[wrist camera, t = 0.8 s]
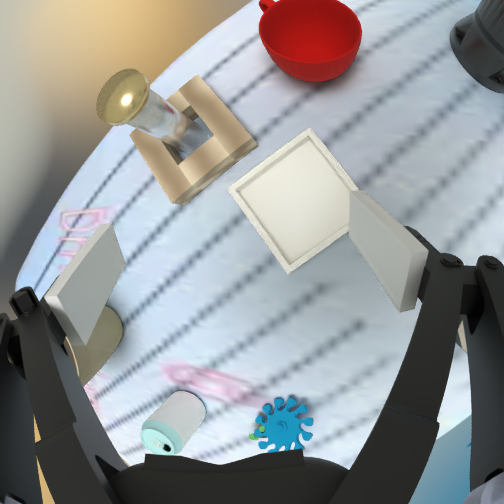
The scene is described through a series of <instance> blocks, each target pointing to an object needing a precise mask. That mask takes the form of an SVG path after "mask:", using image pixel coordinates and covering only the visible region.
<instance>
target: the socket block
mask: <svg viewBox="0 0 504 504" xmlns="http://www.w3.org/2000/svg"><path fill="white" fill-rule="evenodd" d="M166 101H167V102H169V103H170V104H171V105H173V106H174V107H175V108H177V109H178V110H179V111H181V112H182V113H183V114H184V115H186V116H187V117H188V118H190V119H191V120H192V121H193V120H194V119H196V118H197V117H198V116H199V117H200V118H201V119H202V120H203V122H204V123H205V124H206V126H207V127H208V128H209V129H210V131H211V132H212V133H213V134H214V135H213V136H212V137H211V138H210V139H209V140H207V141H206V142H205V143H204V144H202V145H201V146H200V147H199V148H198V149H196V150H195V151H194V152H193V153H192V154H191V155H189V156H188V157H187V158H186V159H185V160H184V161H183V160H182V158H181V157H180V155H179V154H178V152H177V151H176V150H175V148H174V147H173V146H171V145H169V144H167V143H165V142H163V141H161V140H159V139H157V138H155V137H153V136H151V135H149V134H147V133H145V132H143V131H141V130H139V129H137V128H136V129H135V130H134V131H133V132H132V133H131V134H130V137H131V139H132V140H133V142H134V144H135V145H136V147H137V149H138V150H139V152H140V153H141V155H142V157H143V158H144V160H145V162H146V163H147V165H148V166H149V168H150V170H151V171H152V173H153V174H154V176H155V178H156V179H157V181H158V182H159V184H160V185H161V187H162V189H163V190H164V192H165V193H166V195H167V196H168V198H169V200H170V201H171V203H174V204H181V205H185V204H186V203H188V202H189V201H190V200H191V199H192V198H193V197H195V196H196V195H197V194H198V193H199V192H201V191H202V190H203V189H204V188H205V187H207V186H208V185H209V184H210V183H211V182H213V181H214V180H215V179H216V178H218V177H219V176H220V175H221V174H223V173H224V172H225V171H226V170H228V169H229V168H230V167H231V166H233V165H234V164H235V163H237V162H238V161H239V160H240V159H242V158H243V157H244V156H246V155H247V154H248V153H249V152H251V151H252V150H253V149H255V148H256V147H257V146H259V145H258V144H257V143H256V142H255V140H254V139H253V138H252V137H251V135H250V134H249V133H248V132H247V131H246V129H245V128H244V127H243V126H242V125H241V123H240V122H239V121H238V120H237V119H236V117H235V116H234V115H233V114H232V113H231V111H230V110H229V109H228V108H227V107H226V106H225V104H224V103H223V102H222V101H221V100H220V99H219V98H218V96H217V95H216V94H215V93H214V92H213V91H212V90H211V89H210V87H209V86H208V85H207V84H206V83H205V82H204V81H203V80H202V78H201V77H200V76H199V75H198V74H197V75H196V76H195V77H193V78H192V79H191V80H190V81H188V82H187V83H186V84H185V85H184V86H182V87H181V88H180V89H179V90H178V91H176V92H175V93H174V94H173V95H172V96H170V97H169V98H168V99H167V100H166Z"/></svg>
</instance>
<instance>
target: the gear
mask: <svg viewBox="0 0 504 504" xmlns="http://www.w3.org/2000/svg"><path fill="white" fill-rule="evenodd" d="M274 404H275V411H274V413H273V415H271V411H272V406H271V405H265V406H264V407H263V408H262V409H263V411H264V412H265V413H266V415H267V419H268V420H267V422H266V423H265V419H264V417H263V416H258V417H257V418H256V420H255V422H256V423H260V424H262V425H263V426H260V427H259V429H255V432H254V434H250V435H249V439H251V440H257V439H258V438H259V437H260V438H267V437H268V442H264V441H260V442H259V443H258V444H259V447H260V449H266V448H267V447H268V446H269V445H270V444H273V443H274V444H275V445H276V447H275V449H271V450H269V451H268V453H271V452H278V451H279V449H280V448H281V447H282V446H283V445H284V446H285V450H284V451H287V450H290V448H291V444H292V442H293V441H294V442H295V447H294V449H301V448H302V450H304V449H305V448H304V446H303V445H302V444H301V443H300V441H299V437H298V436H299V434H300V433H301V434H302V437H303V439H304V440H305V441H309V440H310V439H311V438H312V436H313V434H312V433H310V432H305V431H304V430H303V429H302V428H301V426H300V425H301V423H302V422H303V423H304V424H305V425H306V426H312V425H313V418H309V417H308V418H306V419H299V418H297V414H298V413H307V412H308V409H307V407H306V405H300V406H299V407H298V409H296V410H295V411H293V412H290V411H289V409H290V407H292V406H295V405H296V404H297V401H296V400H294V399H292V398H289V399H288V400H287V404H286V406H285V408H284V409H283V410H282V411H280V407H281V406H282V405H283V404H284V400H282V399H275V400H274Z"/></svg>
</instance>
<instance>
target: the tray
mask: <svg viewBox="0 0 504 504" xmlns="http://www.w3.org/2000/svg"><path fill="white" fill-rule="evenodd" d="M227 190H228V191H229V192H230V194H231V195H232V197H233V198H234V199H235V201H236V202H237V203H238V205H239V206H240V208H241V209H242V210H243V212H244V213H245V215H246V216H247V217H248V219H249V220H250V222H251V223H252V224H253V226H254V227H255V229H256V230H257V231H258V233H259V234H260V236H261V237H262V239H263V240H264V241H265V243H266V244H267V246H268V247H269V248H270V250H271V251H272V253H273V254H274V256H275V257H276V258H277V260H278V261H279V263H280V264H281V266H282V267H283V268H284V270H285V271H286V273H287V274H289V273H290V272H292V271H293V270H295V269H296V268H297V267H299V266H300V265H302V264H303V263H305V262H306V261H307V260H309V259H310V258H312V257H313V256H315V255H316V254H317V253H319V252H320V251H322V250H323V249H324V248H326V247H327V246H329V245H330V244H331V243H333V242H334V241H336V240H337V239H338V238H340V237H341V236H343V235H344V234H345V233H347V232H348V231H349V210H350V191H358V190H359V189H358V188H357V186H356V185H355V184H354V182H353V181H352V180H351V178H350V177H349V176H348V174H347V173H346V172H345V170H344V169H343V168H342V166H341V165H340V164H339V163H338V161H337V160H336V159H335V158H334V156H333V155H332V154H331V153H330V151H329V150H328V149H327V148H326V146H325V145H324V144H323V143H322V141H321V140H320V139H319V138H318V137H317V135H316V134H315V133H314V132H313V131H312V130H311V128H310V127H309V128H308V129H307V130H305V131H304V132H302V133H301V134H300V135H298V136H297V137H295V138H294V139H293V140H291V141H290V142H288V143H287V144H286V145H284V146H283V147H282V148H280V149H279V150H277V151H276V152H275V153H273V154H272V155H271V156H269V157H268V158H267V159H265V160H264V161H263V162H261V163H260V164H259V165H257V166H256V167H255V168H253V169H252V170H251V171H249V172H248V173H247V174H246V175H244V176H243V177H242V178H240V179H239V180H238V181H237V182H235V183H234V184H233V185H231V186H230V187H229V188H228V189H227Z"/></svg>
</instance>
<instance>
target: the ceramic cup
mask: <svg viewBox="0 0 504 504" xmlns="http://www.w3.org/2000/svg"><path fill="white" fill-rule="evenodd" d="M259 6H260V8H261V10H262V11H263V12H264V14H263V15H262V17H261V19H260V22H259V34H260V37H261V40H262V42H263V45H264V46H265V48H266V50H267V52H268V53H269V55H270V57H271V58H272V60H273V61H274V62H275V63H276V64H277V65H278V66H279V68H280V69H282V70H283V71H284V72H286V73H287V74H289V75H290V76H293V77H295V78H297V79H300V80H303V81H308V82H322V81H328V80H331V79H334V78H335V77H337V76H339V75H341V74H342V73H343V72H344V71H346V70H347V69H348V68H349V66H350V65H351V64H352V62H353V61H354V59H355V57H356V54H357V52H358V49H359V46H360V43H361V36H362V29H361V24H360V21H359V20H358V18H357V16H356V15H355V14H354V12H353V11H352V10H351V9H350V8H348V7H347V6H346V5H345V4H343V3H341V2H339V1H338V0H279V1H277V2H274V1H273V0H260V1H259Z"/></svg>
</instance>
